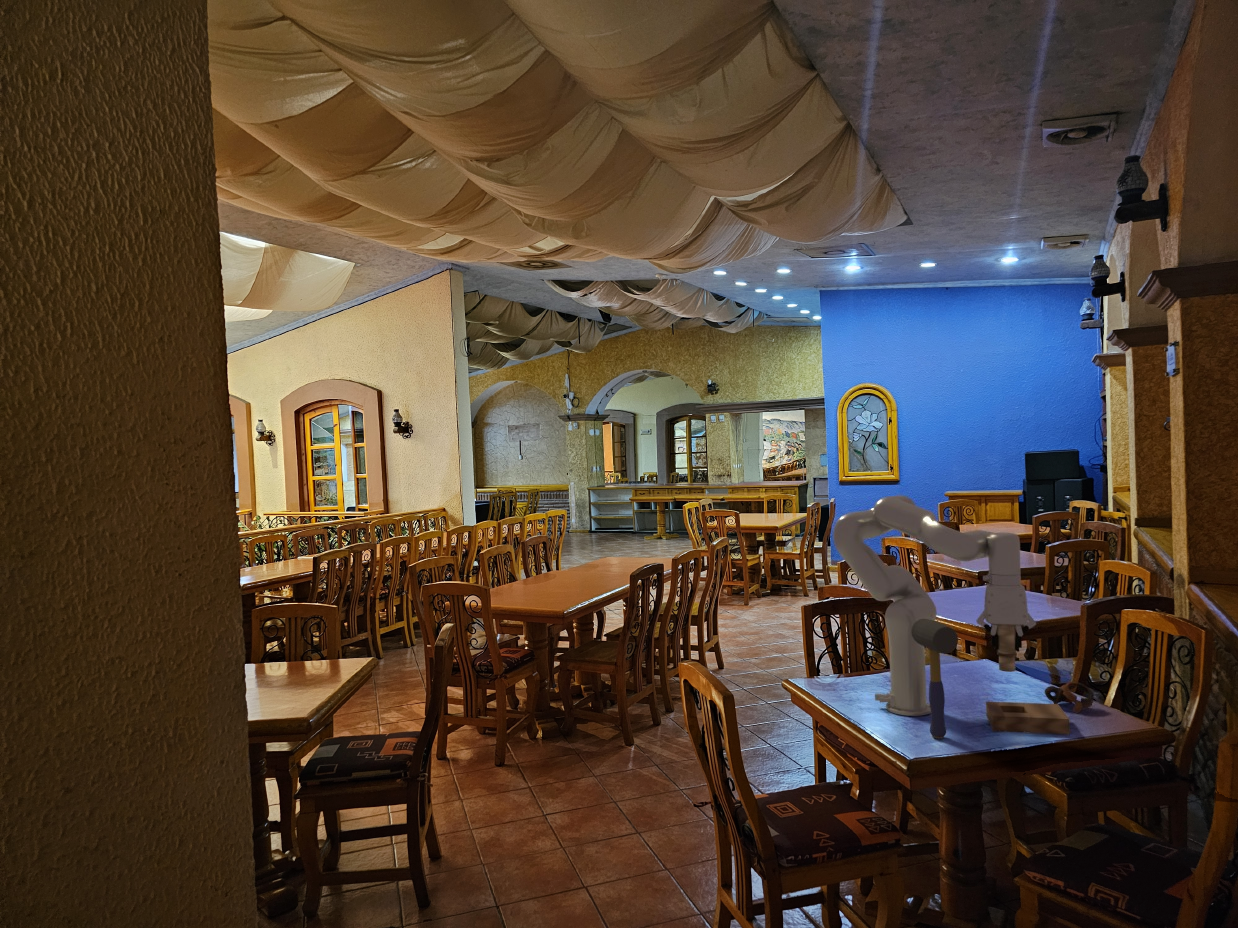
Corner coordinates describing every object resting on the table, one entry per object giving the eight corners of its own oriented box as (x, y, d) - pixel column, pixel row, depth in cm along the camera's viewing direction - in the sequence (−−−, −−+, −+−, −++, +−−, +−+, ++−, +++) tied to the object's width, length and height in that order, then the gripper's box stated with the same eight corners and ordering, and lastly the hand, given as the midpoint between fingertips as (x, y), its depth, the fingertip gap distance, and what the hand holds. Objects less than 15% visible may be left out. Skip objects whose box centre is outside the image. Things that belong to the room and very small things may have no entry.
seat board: (993, 730, 218) (992, 715, 218) (986, 715, 230) (985, 701, 230) (1069, 734, 213) (1069, 718, 213) (1058, 718, 225) (1058, 703, 225)
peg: (998, 671, 217) (996, 617, 217) (996, 666, 221) (995, 614, 221) (1017, 672, 215) (1016, 618, 215) (1015, 667, 220) (1014, 614, 220)
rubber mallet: (912, 731, 220) (908, 617, 220) (939, 728, 221) (934, 615, 221) (937, 746, 208) (932, 626, 208) (965, 744, 209) (960, 624, 209)
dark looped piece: (1081, 703, 239) (1092, 682, 235) (1088, 727, 231) (1100, 706, 227) (1037, 692, 241) (1047, 671, 237) (1043, 716, 233) (1054, 694, 229)
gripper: (970, 581, 217) (972, 651, 218) (1042, 583, 212) (1044, 655, 212) (968, 577, 224) (970, 645, 225) (1038, 578, 219) (1040, 648, 219)
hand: (1006, 649), depth 218 cm, fingers closed on peg, 4 cm apart
